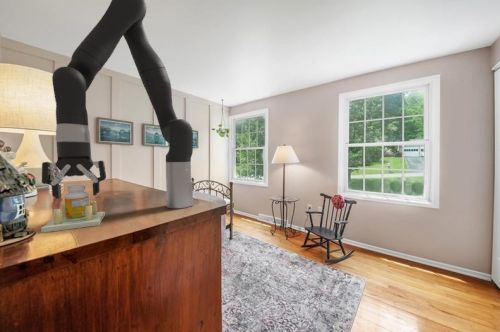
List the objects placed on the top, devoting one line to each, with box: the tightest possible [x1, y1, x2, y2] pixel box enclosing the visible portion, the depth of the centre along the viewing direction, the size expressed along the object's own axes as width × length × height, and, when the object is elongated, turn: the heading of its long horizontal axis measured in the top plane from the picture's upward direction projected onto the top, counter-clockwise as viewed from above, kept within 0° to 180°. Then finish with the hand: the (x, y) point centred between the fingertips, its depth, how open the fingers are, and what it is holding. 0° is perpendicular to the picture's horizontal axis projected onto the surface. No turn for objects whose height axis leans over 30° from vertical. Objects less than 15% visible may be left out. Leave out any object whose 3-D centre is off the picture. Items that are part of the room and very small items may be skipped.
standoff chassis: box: [40, 200, 106, 233], centre depth 61 cm, size 12×12×5 cm
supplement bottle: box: [64, 184, 90, 221], centre depth 61 cm, size 5×5×10 cm
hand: (77, 196), depth 61 cm, fingers open, 8 cm apart
